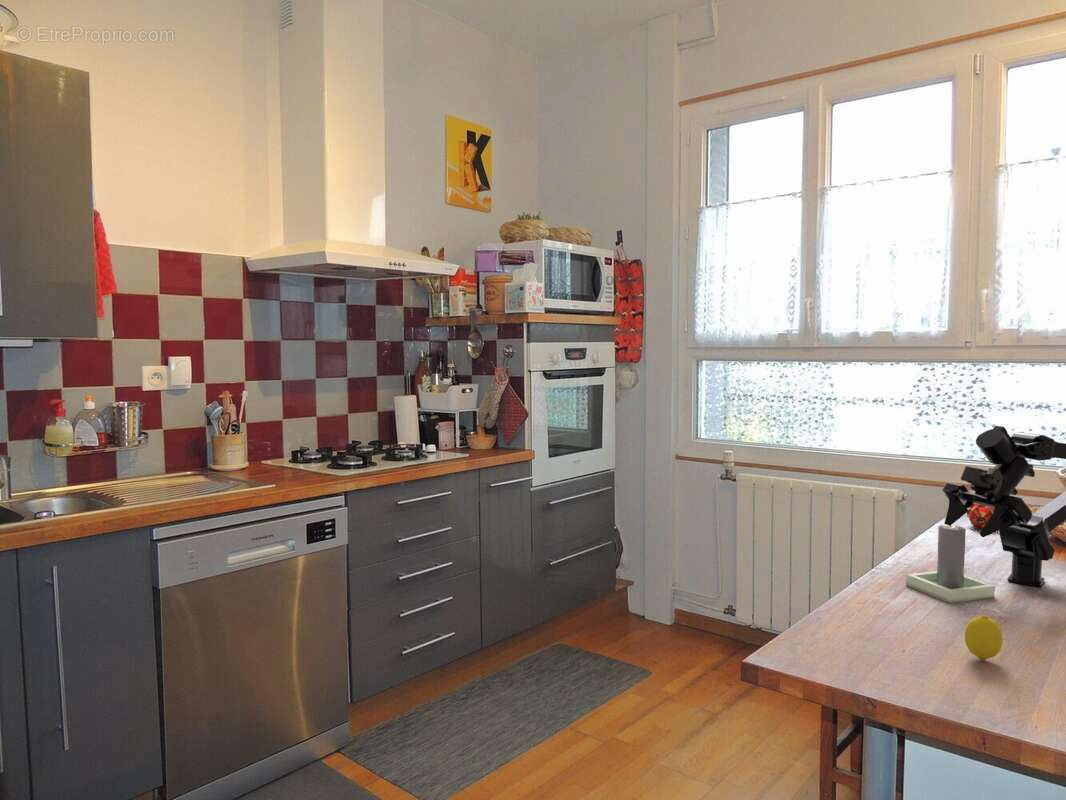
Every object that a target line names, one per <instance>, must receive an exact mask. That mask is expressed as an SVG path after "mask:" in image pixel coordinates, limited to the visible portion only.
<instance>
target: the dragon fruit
mask: <svg viewBox="0 0 1066 800" xmlns="http://www.w3.org/2000/svg"><path fill="white" fill-rule="evenodd" d="M968 510H969V511H968V512H967V513H966V516H967V518H968V519H969V522H970V524H971V525H972V527H974V529H975V530H980V531H981V530H982V528H983V527H984V526H985V524H986V523H987V522H988V520H989V519H990V517H991V516H992V515H993V513H994V508H992V507H988V506H985V505H981V504H977V503H974V504H973V505H972V506H971V507H969V508H968Z"/></svg>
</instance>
